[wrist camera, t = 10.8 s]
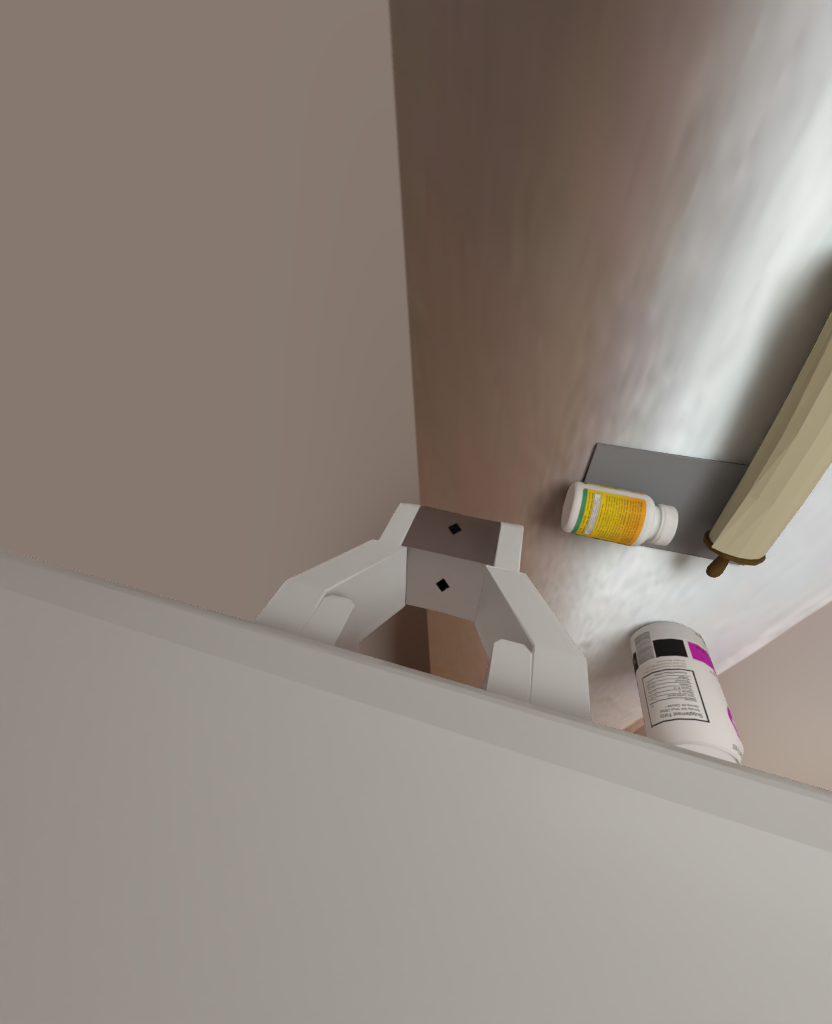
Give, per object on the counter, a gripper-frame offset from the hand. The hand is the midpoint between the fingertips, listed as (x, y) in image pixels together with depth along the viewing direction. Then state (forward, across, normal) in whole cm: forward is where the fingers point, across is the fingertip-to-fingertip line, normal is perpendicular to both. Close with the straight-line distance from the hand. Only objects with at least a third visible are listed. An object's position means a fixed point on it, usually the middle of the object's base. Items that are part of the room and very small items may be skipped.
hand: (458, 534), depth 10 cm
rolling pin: (+31, -23, +6) cm, 39 cm away
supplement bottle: (+28, -7, +16) cm, 33 cm away
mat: (+31, -18, +16) cm, 39 cm away
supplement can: (+31, -25, +36) cm, 54 cm away
